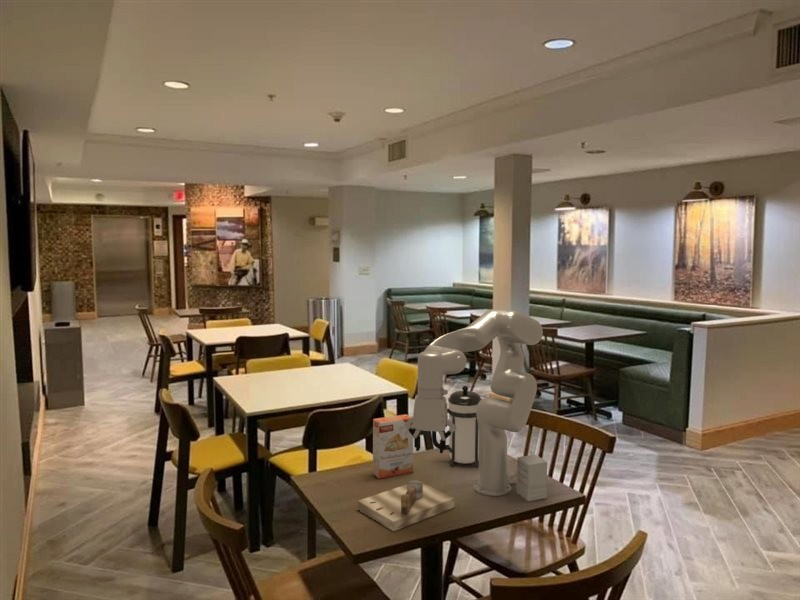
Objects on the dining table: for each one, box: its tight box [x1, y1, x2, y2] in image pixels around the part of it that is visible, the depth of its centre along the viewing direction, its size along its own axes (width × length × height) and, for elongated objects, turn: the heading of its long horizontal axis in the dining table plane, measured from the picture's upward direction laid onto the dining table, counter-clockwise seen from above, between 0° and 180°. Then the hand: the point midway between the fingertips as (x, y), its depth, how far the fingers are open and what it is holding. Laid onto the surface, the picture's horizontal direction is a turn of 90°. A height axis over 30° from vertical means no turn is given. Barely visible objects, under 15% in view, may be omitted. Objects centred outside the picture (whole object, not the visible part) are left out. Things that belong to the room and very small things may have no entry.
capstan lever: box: [401, 480, 424, 514], centre depth 183 cm, size 18×5×5 cm, turn 164°
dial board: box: [357, 482, 456, 532], centre depth 187 cm, size 25×18×3 cm
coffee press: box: [431, 385, 483, 469], centre depth 225 cm, size 17×16×30 cm
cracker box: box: [372, 413, 414, 480], centre depth 215 cm, size 14×6×21 cm, turn 117°
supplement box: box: [516, 454, 548, 502], centre depth 196 cm, size 7×7×13 cm
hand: (429, 450), depth 178 cm, fingers open, 6 cm apart
